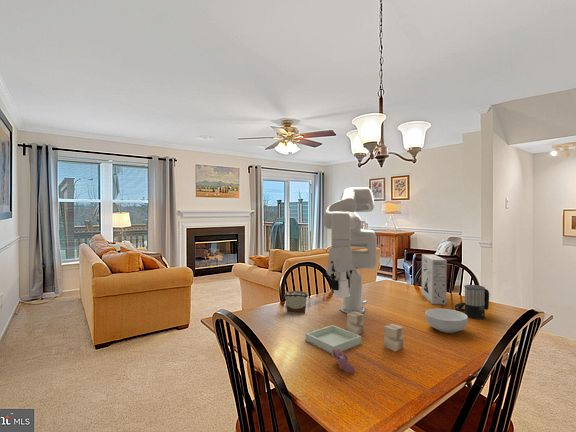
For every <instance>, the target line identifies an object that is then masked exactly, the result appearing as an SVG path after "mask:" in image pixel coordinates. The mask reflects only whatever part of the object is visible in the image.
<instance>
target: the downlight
mask: <svg viewBox="0 0 576 432" xmlns="http://www.w3.org/2000/svg"><path fill="white" fill-rule="evenodd" d="M334 275H336V274H334ZM337 280H339V290H333V289H332V287H331V288H330V293H332V297H333V298H334V297H335V298H338V299H340V298H341V299H343V298H345V297H349V296H350V293H349V289H348V279H347V278H346V271H345V272H341V273H339V275H338V279H337ZM350 290H351V289H350ZM332 291H333V292H332Z"/></svg>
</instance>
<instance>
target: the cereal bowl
mask: <svg viewBox="0 0 576 432" xmlns="http://www.w3.org/2000/svg"><path fill="white" fill-rule="evenodd" d="M425 320H426V322H427V324H428V325H429V326H430V327H432V328H434V329H435V330H437V331H439V332H441V333H445V334H454V333H457V332H460V331H462V330H465V328H467V325H468V324H469V323H468V322H469V317H467V315H466V314H464V312H463V311H459V310H456V309H450V308H429V309H427V310H426V311H425Z"/></svg>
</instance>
